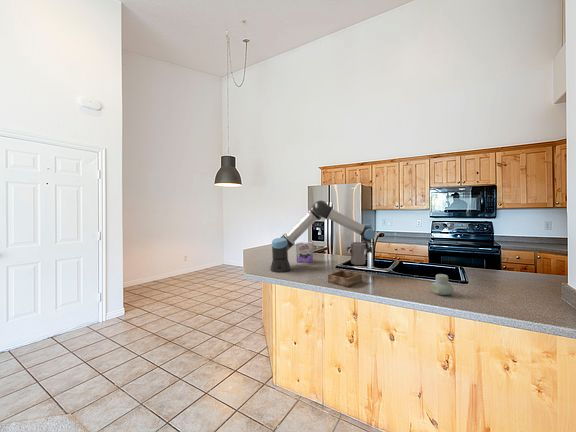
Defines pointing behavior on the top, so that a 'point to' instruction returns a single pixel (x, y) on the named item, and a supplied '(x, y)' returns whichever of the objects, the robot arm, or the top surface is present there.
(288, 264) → the robot arm
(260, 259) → the top surface
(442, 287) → the air freshener
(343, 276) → the walnut crate
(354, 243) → the pillar candle
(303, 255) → the candy box
